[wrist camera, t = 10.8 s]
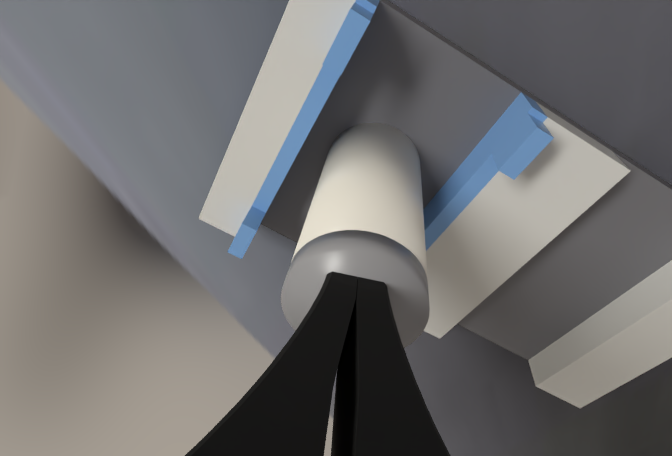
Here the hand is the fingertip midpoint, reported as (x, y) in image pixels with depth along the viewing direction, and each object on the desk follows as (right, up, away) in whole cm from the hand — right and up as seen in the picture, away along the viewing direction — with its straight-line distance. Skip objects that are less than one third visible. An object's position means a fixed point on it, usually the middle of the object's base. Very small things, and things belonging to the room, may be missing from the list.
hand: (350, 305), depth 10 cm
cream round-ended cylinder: (+1, +4, +6) cm, 7 cm away
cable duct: (+5, +2, +8) cm, 10 cm away
